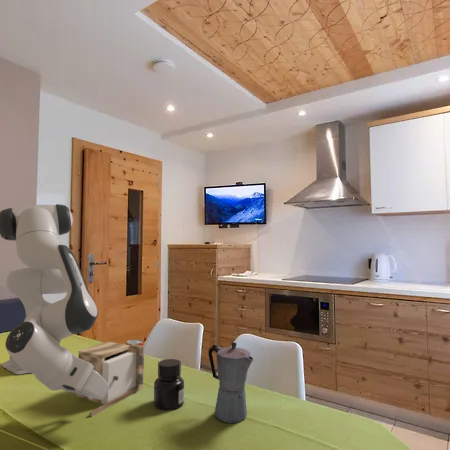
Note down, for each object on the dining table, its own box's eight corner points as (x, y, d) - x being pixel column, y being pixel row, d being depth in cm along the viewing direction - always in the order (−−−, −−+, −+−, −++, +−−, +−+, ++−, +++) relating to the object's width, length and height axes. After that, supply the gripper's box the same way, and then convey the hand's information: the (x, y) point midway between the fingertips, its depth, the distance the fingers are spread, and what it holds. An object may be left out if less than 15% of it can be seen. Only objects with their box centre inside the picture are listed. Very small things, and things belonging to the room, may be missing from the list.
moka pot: (245, 431, 85) (245, 350, 86) (196, 415, 93) (197, 341, 94) (261, 415, 93) (261, 341, 94) (215, 401, 101) (216, 334, 102)
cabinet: (56, 406, 97) (58, 357, 98) (110, 381, 116) (112, 340, 117) (95, 418, 91) (96, 365, 92) (145, 389, 109) (146, 346, 110)
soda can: (138, 379, 118) (139, 344, 119) (120, 377, 119) (120, 343, 120) (146, 372, 125) (147, 339, 126) (129, 370, 126) (130, 338, 127)
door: (101, 403, 99) (102, 361, 100) (129, 388, 110) (130, 351, 111) (110, 406, 98) (111, 363, 98) (137, 390, 108) (138, 352, 109)
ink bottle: (188, 407, 97) (189, 365, 98) (158, 414, 93) (159, 370, 94) (177, 394, 106) (178, 355, 107) (150, 400, 102) (150, 359, 103)
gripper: (24, 375, 87) (56, 399, 95) (80, 389, 78) (110, 414, 86) (41, 353, 92) (70, 378, 100) (96, 364, 83) (123, 390, 91)
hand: (89, 395), depth 93 cm, fingers closed
